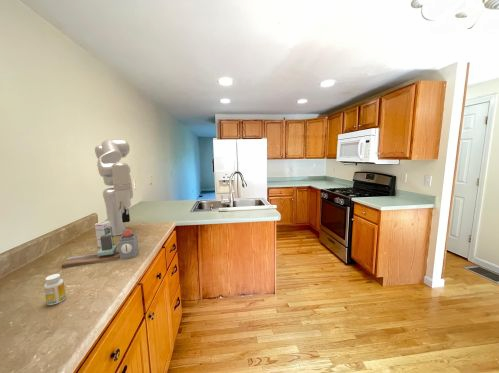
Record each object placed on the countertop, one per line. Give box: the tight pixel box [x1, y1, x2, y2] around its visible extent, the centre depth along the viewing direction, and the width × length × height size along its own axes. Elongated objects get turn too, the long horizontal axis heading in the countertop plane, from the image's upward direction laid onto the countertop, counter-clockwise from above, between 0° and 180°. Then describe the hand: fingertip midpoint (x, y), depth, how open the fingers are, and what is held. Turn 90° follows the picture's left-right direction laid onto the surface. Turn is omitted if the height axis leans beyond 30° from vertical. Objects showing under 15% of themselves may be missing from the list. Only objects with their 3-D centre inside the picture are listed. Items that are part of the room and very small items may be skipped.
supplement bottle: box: [43, 273, 67, 306], centre depth 79 cm, size 5×5×10 cm
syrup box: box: [94, 220, 114, 248], centre depth 127 cm, size 6×6×14 cm
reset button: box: [122, 229, 133, 237], centre depth 114 cm, size 4×4×2 cm
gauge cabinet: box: [117, 232, 139, 260], centre depth 115 cm, size 11×7×10 cm, turn 18°
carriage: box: [96, 235, 118, 256], centre depth 112 cm, size 8×7×9 cm
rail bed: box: [61, 249, 121, 269], centre depth 111 cm, size 10×24×3 cm, turn 109°
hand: (126, 221), depth 113 cm, fingers closed
